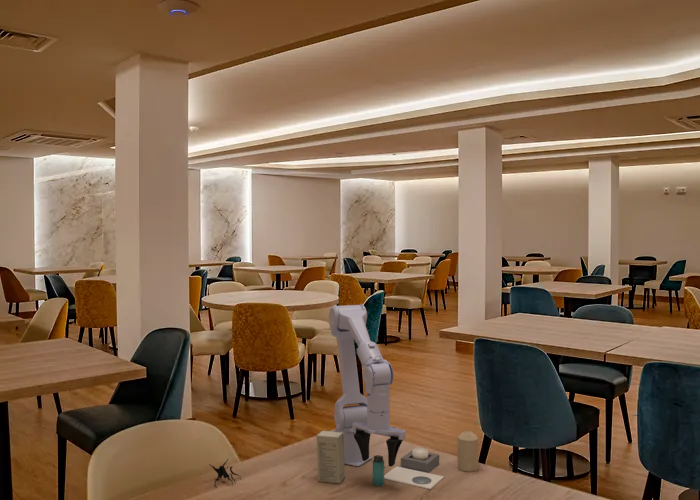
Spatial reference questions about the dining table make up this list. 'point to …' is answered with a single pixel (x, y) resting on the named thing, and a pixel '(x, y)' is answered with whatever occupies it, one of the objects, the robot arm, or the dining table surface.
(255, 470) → the dining table surface
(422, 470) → the button housing
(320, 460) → the skincare box
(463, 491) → the dining table surface
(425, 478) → the paper
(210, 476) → the dining table surface
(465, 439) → the candle
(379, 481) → the bottle
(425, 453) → the button
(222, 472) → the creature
